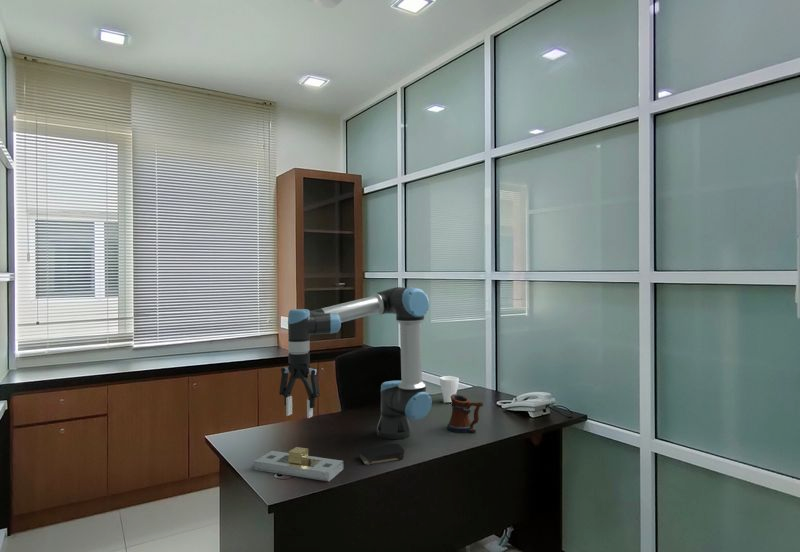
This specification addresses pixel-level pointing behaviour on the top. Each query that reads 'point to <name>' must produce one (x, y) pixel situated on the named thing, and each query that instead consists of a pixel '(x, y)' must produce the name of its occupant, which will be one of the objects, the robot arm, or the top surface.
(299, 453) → the yellow block
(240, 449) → the top surface
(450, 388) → the cup
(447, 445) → the top surface
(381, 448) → the black sponge
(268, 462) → the rail
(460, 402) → the mug
